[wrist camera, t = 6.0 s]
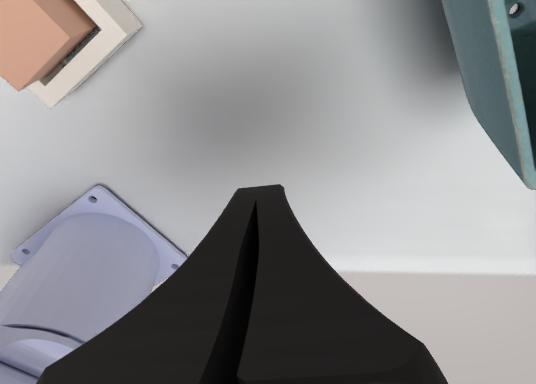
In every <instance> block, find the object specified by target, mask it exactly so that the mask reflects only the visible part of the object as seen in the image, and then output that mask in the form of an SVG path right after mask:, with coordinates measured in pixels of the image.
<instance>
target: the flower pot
mask: <svg viewBox="0 0 536 384" xmlns="http://www.w3.org/2000/svg"><path fill="white" fill-rule="evenodd" d="M441 1H442V5H443V9H444V12H445V16H446V20H447V23H448V27H449V31H450V34H451V38H452V42H453V46H454V50H455V54H456V58H457V61H458V65H459V69H460V73H461V77H462V81H463V85H464V89H465V93H466V96H467V99H468V102H469V104H470V107H471V109H472V111H473V113H474V115H475V117H476V119H477V120H478V122H479V123H480V125H481V126H482V128H483V129H484V130H485V132H486V133H487V135H488V136H489V137H490V139H491V140H492V142H493V143H494V144H495V146H496V147H497V148H498V150H499V151H500V153H501V154H502V155H503V157H504V158H505V159H506V161H507V162H508V163H509V165H510V166H511V167H512V168H513V170H514V171H515V172H516V174H517V175H518V176H519V177H520V179H521V180H522V181H523V183H524V184H525V185H526V187H527V188H529V189H531V190H536V0H441ZM515 3H518V4H519V5H520V9H519V11H518V12H517V13H516V14H514V15H510V14H509V11H510V8H511V7H512V6H513V5H514V4H515Z"/></svg>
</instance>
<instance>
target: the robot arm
mask: <svg viewBox="0 0 536 384" xmlns="http://www.w3.org/2000/svg"><path fill="white" fill-rule="evenodd" d="M91 196H94V197H96V199H97V200H96V199H93V198H92V197H91ZM10 258H11V260H13V261H14V262H15V263H17V264H18V265H20V266H21V267H20V268H19V269H18V270H17V272H16V273H15V274H14V275H13V277H12V278H11V279H10V281H9V282H8V283H7V284H6V286H5V287H4V288H3V289H2V291H1V292H0V384H448V382H447V381H446V379H445V377H444V375H443V374H442V372H441V370H440V368H439V367H438V365H437V363H436V362H435V360H434V359H433V357H432V355H431V354H430V352H429V351H428V349H427V348H426V346H425V345H424V344H423V343H422V342H420V341H419V340H417V339H416V338H415V337H413V336H412V335H410V334H409V333H407V332H406V331H404V330H403V329H402V328H400V327H399V326H398V325H396V324H395V323H393V322H392V321H391V320H390V319H388V318H387V317H386V316H384V315H383V314H382V313H381V312H379V311H378V310H377V309H375V308H374V307H373V306H372V305H371V304H370V303H368V302H367V301H366V300H365V299H364V298H363V297H362V296H361V295H360V294H358V293H357V292H356V291H355V290H354V289H353V288H352V287H351V286H350V285H349V284H348V283H347V282H345V281H344V280H343V279H342V278H341V276H339V274H338V273H337V272H336V271H335V270H334V269H333V268H332V267H331V266H330V265H329V263H328V262H327V261H326V260H325V259H324V258H323V257H322V255H321V254H320V253H319V252H318V250H317V249H316V248H315V246H314V245H313V244H312V242H311V241H310V239H309V238H308V237H307V235H306V234H305V232H304V231H303V229H302V228H301V226H300V224H299V222H298V221H297V219H296V217H295V216H294V214H293V212H292V210H291V208H290V206H289V203H288V201H287V199H286V196H285V192H284V187H283V186H281V185H280V184H278V185H268V186H259V187H249V188H239V189H238V190H237V191H236V192H235V193H234V195H233V197H232V198H231V200H230V201H229V203H228V205H227V206H226V208H225V209H224V211H223V212H222V214H221V215H220V217H219V218H218V220H217V221H216V222H215V224H214V225H213V227H212V228H211V229H210V231H209V232H208V234H207V235H206V236H205V237H204V239H203V240H202V241H201V242H200V244H199V245H198V246H197V247H196V249H195V250H194V251H193V252H192V253H191V255H190V256H189V257H188V258H187V257H186V256H185V255H184V254H182V253H181V252H180V251H179V250H178V249H177V248H175V247H174V246H173V245H172V244H171V243H169V242H168V241H167V240H166V239H165V238H164V237H162V236H161V235H160V234H159V233H158V232H157V231H155V230H154V229H153V228H152V227H151V226H149V225H148V224H147V223H146V222H145V221H144V220H142V219H141V218H140V217H139V216H138V215H136V214H135V213H134V212H133V211H132V210H131V209H129V208H128V207H127V206H126V205H125V204H124V203H122V202H121V201H120V200H119V199H118V198H116V197H115V196H114V195H113V194H112V193H111V192H109V191H108V190H107V189H106V188H104V187H103V186H94V187H93V188H91V189H90V190H89V191H88V192H86V193H85V194H84V195H83V196H81V197H80V198H79V199H78V200H76V201H75V202H74V203H73V204H71V205H70V206H69V207H68V208H66V209H65V210H64V211H62V212H61V213H60V214H59V215H57V216H56V217H55V218H54V219H52V220H51V221H50V222H49V223H47V224H46V225H45V226H44V227H42V228H41V229H40V230H39V231H37V232H36V233H35V234H34V235H32V236H31V237H30V238H29V239H27V240H26V241H25V242H23V243H22V244H21V245H20V246H18V247H17V248H16V249H15V250H13V252H12V253H11V254H10ZM174 264H177V265H174ZM168 277H169V278H168ZM167 278H168V279H167ZM165 279H167V280H166V281H165V282H164V283H163V284H161V285H160V286H159V287H158V288H157V289H156V290H154V291H153V292H152V293H151V291H152V288H153V286H155V285H157V284H158V283H160V282H161V281H163V280H165Z"/></svg>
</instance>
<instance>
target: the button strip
mask: <svg viewBox="0 0 536 384" xmlns="http://www.w3.org/2000/svg"><path fill="white" fill-rule="evenodd" d="M74 1H75V2H76V3H77V4H78V5H79V6H80V7H81V8H82V9H83V10H84V11H85V12H86V13H87V15H88V16H89V17H90V18H91V19H92V20H93V21H94V22H95V23H96V24H97V25H98V26H99V27H100V29H101V31H100V32H99V33H98V34H97V35H96V36H95V37H94V38H93V39H92V40H91V41H90V42H89V43H88V44H87V45H86V46H85V47H84V48H83V49H82V50H81V51H80V52H79V53H78V54H77V55H76V56H75V57H74V58H73V59H72V60H71V61H70V62H69V63H68V64H67V65H66V66H65V67H63V66H62V65H61V64H59V65H58V66H57V67H56V68H55V69H54V70H53V71H52V72H51V73H50V74H48V75H46V76H45V77H43V78H41V79H39V80H38V81H36V82H34V83H32V84H31V85H29V86H27V88H28V89H29V90H31V91H32V92H33V93H34V94H35V95H36V96H37V97H38V98H39V99H41V100H42V101H43V102H44V103H45V104H46V105H47V106H48V107H50V108H52V107H54V106H55V105H56V104H58V103H59V102H61V101H62V100H63V99H65V98H66V97H67V96H69V95H70V94H71V93H73V92H74V91H75V90H76V89H77V88H78V87H79V86H80V85H81V84H82V83H83V82H84V81H85V80H86V79H88V78H89V77H90V76H91V75H92V74H93V73H94V72H95V71H96V70H97V69H98V68H99V67H100V66H101V65H102V64H103V63H104V62H105V61H106V60H107V59H109V58H110V57H111V56H112V55H113V54H114V53H115V52H116V51H117V50H118V49H119V48H120V47H121V46H122V45H123V44H124V43H125V42H126V41H127V40H128V39H130V38H131V37H132V36H133V35H134V34H135V33H136V32H137V31H138V30H139V29H140V28H141V27H142V26H143V24H142V23H141V22H140V21H139V20H138V19H137V18H136V16H135V15H134V14H133V13H132V12H131V11H130V10H129V8H128V7H127V6H126V5H125V4H124V3H123V1H122V0H74Z"/></svg>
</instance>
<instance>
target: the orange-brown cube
mask: <svg viewBox="0 0 536 384" xmlns="http://www.w3.org/2000/svg"><path fill="white" fill-rule="evenodd" d="M96 26H97V25H96V24H95V23H94V22H93V21H92V20H91V19H90V18H89V17H88V16H87V15H86V14H85V13H84V11H83V10H82V9H81V8H80V7H79V6H78V5H77V4H76V3H75V2H74V1H73V0H0V76H1V77H3V78H4V79H5V80H6V81H7V82H8V83H9V84H11V85H12V86H13V87H14V88H15V89H16V90H17V91H20V90H22V89H24V88H25V87H27V86H29V85H31V84H32V83H34V82H36V81H38V80H39V79H41V78H43V77H45V76H46V75H48V74H50V73H51V72H52V71H53V70H54V69H55V68H56V67H57V66H58V65H59V64H60V63H61V62H62V61H63V60H64V59H65V58H66V57H67V56H68V55H69V54H70V53H71V52H72V51H73V50H74V49H75V48H76V46H77V45H78V44H79V43H80V42H81V41H82V40H83V39H84V38H85V37H86V36H87V35H88V34H89V33H90V32H91V31H92V30H93V29H94V28H95V27H96Z"/></svg>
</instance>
